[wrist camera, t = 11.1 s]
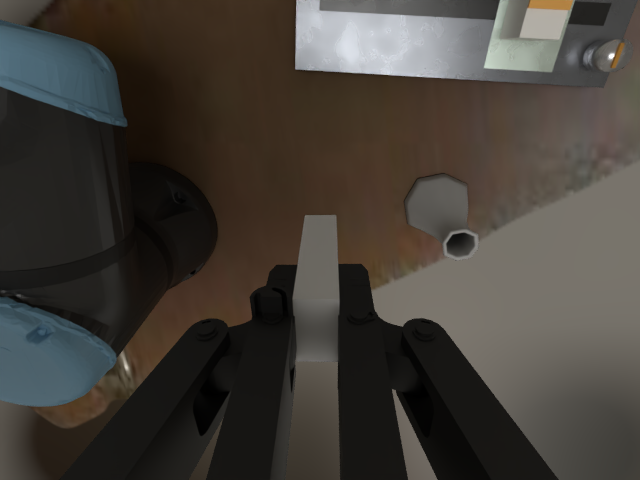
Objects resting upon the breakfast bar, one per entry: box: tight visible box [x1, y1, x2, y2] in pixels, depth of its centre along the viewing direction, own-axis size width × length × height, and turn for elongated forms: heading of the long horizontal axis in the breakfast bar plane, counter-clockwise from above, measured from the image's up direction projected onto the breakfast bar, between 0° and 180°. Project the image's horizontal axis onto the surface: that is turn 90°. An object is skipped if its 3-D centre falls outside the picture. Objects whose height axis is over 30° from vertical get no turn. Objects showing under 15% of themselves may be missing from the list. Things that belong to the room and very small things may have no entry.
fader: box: [500, 0, 573, 41], centre depth 28 cm, size 3×4×4 cm
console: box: [295, 0, 637, 88], centre depth 30 cm, size 28×11×5 cm, turn 87°
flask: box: [404, 174, 479, 261], centre depth 36 cm, size 7×7×10 cm
